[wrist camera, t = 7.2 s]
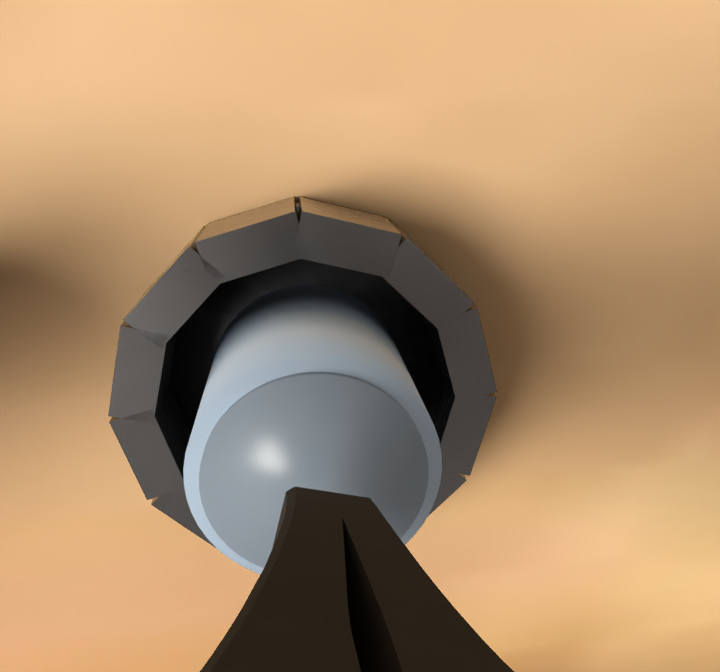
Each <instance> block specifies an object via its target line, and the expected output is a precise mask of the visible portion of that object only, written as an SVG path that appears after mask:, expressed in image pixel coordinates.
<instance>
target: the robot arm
mask: <svg viewBox="0 0 720 672" xmlns="http://www.w3.org/2000/svg"><path fill="white" fill-rule="evenodd" d="M200 672H514V671H513V670H512V669H511V668H510V667H509V666H508V665H507V664H506V663H505V662H503V661H502V660H501V659H500V658H499V656H498V655H497V654H496V653H495V652H494V651H493V650H492V649H491V648H490V647H489V646H488V645H487V644H486V643H485V642H484V641H483V640H482V639H481V637H480V636H479V635H478V634H477V633H476V632H475V631H474V630H473V628H472V627H471V626H470V625H469V624H468V623H467V622H466V621H465V619H464V618H463V617H462V616H461V615H460V614H459V613H458V611H457V610H456V609H455V608H454V607H453V606H452V605H451V603H450V602H449V601H448V600H447V599H446V597H445V596H444V595H443V594H442V592H441V591H440V590H439V589H438V588H437V586H436V585H435V584H434V583H433V581H432V580H431V579H430V578H429V576H428V575H427V574H426V572H425V571H424V570H423V569H422V567H421V566H420V565H419V563H418V562H417V561H416V559H415V558H414V557H413V555H412V554H411V553H410V551H409V550H408V549H407V547H406V546H405V545H404V543H403V542H402V541H401V539H400V538H399V537H398V535H397V534H396V532H395V531H394V530H393V528H392V527H391V526H390V524H389V523H388V521H387V520H386V519H385V517H384V516H383V514H382V513H381V512H380V510H379V509H378V508H377V506H376V505H375V504H374V502H373V501H372V500H371V498H368V497H361V496H354V495H348V494H341V493H335V492H328V491H322V490H315V489H309V488H302V487H293V488H291V489H290V490H288V491H286V493H285V498H284V502H283V506H282V510H281V514H280V518H279V523H278V527H277V531H276V535H275V539H274V543H273V548H272V551H271V553H270V556H269V558H268V560H267V563H266V565H265V567H264V569H263V571H262V573H261V575H260V577H259V578H258V580H257V582H256V584H255V586H254V588H253V589H252V591H251V593H250V595H249V597H248V599H247V600H246V602H245V604H244V606H243V608H242V609H241V611H240V613H239V614H238V616H237V618H236V619H235V621H234V622H233V624H232V626H231V627H230V629H229V630H228V632H227V633H226V635H225V637H224V638H223V640H222V641H221V643H220V644H219V645H218V647H217V648H216V650H215V651H214V653H213V654H212V656H211V657H210V659H209V660H208V661H207V663H206V664H205V666H204V667H203V668H202V670H201V671H200Z"/></svg>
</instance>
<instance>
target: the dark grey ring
mask: <svg viewBox="0 0 720 672" xmlns="http://www.w3.org/2000/svg"><path fill="white" fill-rule="evenodd" d="M295 285H320V286H326V287H331V288H334V289H338V290H341V291H343V292H346V293H348V294H350V295H352V296H354V297H356V298H357V299H359V300H361V301H362V302H364V303H365V304H366V305H367V306H369V307H370V308H371V309H372V310H373V311H374V312H375V313H376V314H377V315H378V316H379V317H380V318H381V320H382V321H383V323H384V324H385V326H386V327H387V329H388V331H389V333H390V335H391V337H392V339H393V341H394V343H395V345H396V347H397V349H398V351H399V353H400V355H401V357H402V359H403V362H404V364H405V366H406V368H407V370H408V372H409V374H410V376H411V378H412V380H413V382H414V384H415V387H416V389H417V391H418V393H419V395H420V397H421V399H422V401H423V403H424V405H425V407H426V409H427V412H428V414H429V416H430V418H431V420H432V422H433V424H434V426H435V429H436V432H437V435H438V438H439V442H440V448H441V454H442V473H441V481H440V486H439V490H438V493H437V497H436V500H435V502H434V504H433V507H432V509H431V511H430V513H429V515H430V514H431V513H432V512H433V511H434V510H435V509H436V508H437V507H438V506H439V505H441V504H442V503H443V502H444V501H445V500H446V499H447V498H448V497H449V496H450V495H451V494H452V493H453V492H455V491H456V490H457V489H458V488H459V487H460V486H461V485H462V484H463V483H464V482H465V481H466V478H465V476H464V475H470V474H471V471H472V468H473V465H474V462H475V459H476V456H477V453H478V450H479V447H480V444H481V441H482V438H483V435H484V432H485V429H486V426H487V423H488V420H489V417H490V414H491V411H492V409H493V406H494V403H495V400H496V396H495V395H494V394H493V392H497V391H496V387H495V382H494V378H493V374H492V369H491V365H490V361H489V356H488V352H487V348H486V343H485V339H484V335H483V330H482V326H481V322H480V317H479V313H478V309H477V307H476V306H475V305H474V302H473V301H472V300H471V299H470V298H469V297H468V296H467V295H466V294H465V293H464V292H463V291H462V290H461V289H460V288H459V287H458V286H457V285H456V284H455V283H454V282H453V281H452V280H451V279H450V278H449V277H448V276H447V275H446V274H445V273H444V272H443V271H442V270H441V269H440V268H439V267H438V266H437V265H436V264H435V263H434V262H433V261H431V260H430V259H429V258H428V257H427V256H426V255H425V254H424V253H423V252H422V251H421V250H420V249H419V248H418V247H417V246H416V245H415V244H414V243H413V242H412V241H411V240H410V239H409V238H408V237H407V236H406V235H405V234H404V233H403V232H402V231H401V230H400V229H399V228H398V227H397V226H396V225H395V224H394V223H393V222H392V221H391V220H390V219H389V220H387V219H386V218H385V217H384V216H380V215H376V214H371V213H367V212H363V211H359V210H354V209H350V208H346V207H342V206H338V205H333V204H329V203H325V202H321V201H316V200H312V199H308V198H304V197H300V199H299V202H295V199H294V197H292V198H288V199H285V200H282V201H279V202H275V203H272V204H269V205H266V206H262V207H259V208H256V209H253V210H249V211H246V212H243V213H240V214H236V215H233V216H230V217H227V218H223V219H220V220H217V221H214V222H210V223H209V224H208V225H207V227H205V226H204V227H203V228H202V229H201V230H200V232H199V233H198V234H197V235H196V236H195V237H194V238H193V239H192V241H191V242H190V243H189V244H188V245H187V246H186V247H185V248H184V250H183V251H182V252H181V253H180V254H179V255H178V256H177V258H176V259H175V260H174V261H173V262H172V263H171V264H170V265H169V267H168V268H167V269H166V270H165V271H164V272H163V273H162V275H161V276H160V277H159V278H158V279H157V280H156V281H155V282H154V284H153V285H152V286H151V287H150V288H149V289H148V290H147V292H146V293H145V294H144V295H143V297H142V298H141V299H140V300H139V302H138V303H137V304H136V305H135V306H134V308H133V309H132V310H131V311H130V313H129V314H128V315H127V316H126V317H125V319H124V322H123V324H122V325H121V327H120V334H119V341H118V349H117V356H116V363H115V371H114V378H113V385H112V393H111V400H110V407H109V415H108V416H111V417H112V418H111V420H110V424H111V427H112V429H113V431H114V433H115V435H116V437H117V439H118V441H119V443H120V445H121V447H122V449H123V451H124V453H125V455H126V457H127V459H128V462H129V464H130V466H131V468H132V470H133V472H134V474H135V476H136V478H137V480H138V482H139V484H140V486H141V488H142V490H143V492H144V494H145V497H146V499H147V500H149V499H152V498H153V501H152V503H151V505H153V506H154V507H156V508H157V509H159V510H160V511H162V512H163V513H165V514H166V515H168V516H169V517H171V518H172V519H174V520H175V521H177V522H178V523H180V524H181V525H182V526H184V527H185V528H187V529H188V530H190V531H191V532H193V533H194V534H196V535H197V536H199V537H200V538H202V539H203V540H205V541H206V542H208V543H209V544H211V545H212V546H214V545H213V544H212V543H211V542H210V541H209V540H208V539H207V537H206V536H205V535H204V533H203V532H202V530H201V529H200V528H199V526H198V525H197V523H196V521H195V519H194V517H193V515H192V513H191V510H190V507H189V505H188V502H187V499H186V493H185V488H184V474H183V468H184V460H185V453H186V449H187V446H188V442H189V439H190V435H191V432H192V429H193V426H194V422H195V419H196V416H197V413H198V409H199V406H200V403H201V400H202V396H203V393H204V390H205V387H206V383H207V380H208V377H209V374H210V370H211V367H212V364H213V360H214V357H215V354H216V351H217V347H218V344H219V342H220V340H221V337H222V335H223V333H224V331H225V330H226V328H227V327H228V325H229V323H230V322H231V321H232V320H233V319H234V317H235V316H236V315H237V314H238V313H239V312H240V311H241V310H242V309H243V308H244V307H246V306H247V305H248V304H250V303H251V302H252V301H254V300H255V299H257V298H259V297H261V296H263V295H265V294H267V293H269V292H272V291H274V290H277V289H280V288H284V287H289V286H295ZM429 515H428V516H429ZM428 516H427V517H428ZM214 547H215V546H214ZM215 548H216V547H215Z"/></svg>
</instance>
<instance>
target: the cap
mask: <svg viewBox="0 0 720 672" xmlns="http://www.w3.org/2000/svg"><path fill="white" fill-rule="evenodd" d="M441 473H442V454H441V448H440V442H439V438H438V435H437V432H436V429H435V426H434V424H433V422H432V420H431V418H430V416H429V414H428V412H427V409H426V407H425V405H424V403H423V401H422V399H421V397H420V395H419V393H418V391H417V389H416V387H415V384H414V382H413V380H412V378H411V376H410V374H409V372H408V370H407V368H406V366H405V364H404V362H403V359H402V357H401V355H400V353H399V351H398V349H397V347H396V345H395V343H394V341H393V339H392V337H391V335H390V333H389V331H388V329H387V327H386V326H385V324H384V323H383V321H382V320H381V318H380V317H379V316H378V315H377V314H376V313H375V312H374V311H373V310H372V309H371V308H370V307H369V306H367V305H366V304H365V303H364V302H362V301H361V300H359V299H357V298H356V297H354V296H352V295H350V294H348V293H346V292H343V291H341V290H338V289H334V288H331V287H326V286H320V285H295V286H289V287H284V288H280V289H277V290H274V291H272V292H269V293H267V294H265V295H263V296H261V297H259V298H257V299H255V300H254V301H252V302H251V303H250V304H248V305H247V306H246V307H244V308H243V309H242V310H241V311H240V312H239V313H238V314H237V315H236V316H235V317H234V319H233V320H232V321H231V322H230V323H229V325H228V327H227V328H226V330H225V331H224V333H223V335H222V337H221V340H220V342H219V344H218V347H217V351H216V354H215V357H214V360H213V364H212V367H211V370H210V374H209V377H208V380H207V383H206V387H205V390H204V393H203V396H202V400H201V403H200V406H199V409H198V413H197V416H196V419H195V422H194V426H193V429H192V432H191V435H190V439H189V442H188V446H187V449H186V453H185V460H184V468H183V474H184V488H185V493H186V499H187V502H188V505H189V507H190V510H191V513H192V515H193V517H194V519H195V521H196V523H197V525H198V526H199V528H200V529H201V530H202V532H203V533H204V535H205V536H206V537H207V539H208V540H209V541H210V542H211V543H212V544H213V545H214V546H215V547H216V548H217V549H218V550H219V551H221V552H222V553H223V554H224V555H226V556H227V557H228V558H229V559H231V560H233V561H234V562H236V563H238V564H239V565H241V566H243V567H245V568H247V569H249V570H251V571H254V572H256V573H259V574H261V573H262V571H263V569H264V567H265V565H266V563H267V560H268V558H269V556H270V553H271V551H272V548H273V543H274V539H275V535H276V531H277V527H278V523H279V518H280V514H281V510H282V506H283V502H284V498H285V493H286V491H288V490H290V489H291V488H293V487H302V488H309V489H315V490H322V491H328V492H335V493H341V494H348V495H354V496H361V497H368V498H371V500H372V501H373V502H374V504H375V505H376V506H377V508H378V509H379V510H380V512H381V513H382V514H383V516H384V517H385V519H386V520H387V521H388V523H389V524H390V526H391V527H392V528H393V530H394V531H395V532H396V534H397V535H398V537H399V538H400V539H401V541H402V542H403V543H404V545H405V544H406V543H407V542H408V541H409V540H410V539H411V538H412V537H413V536H414V535H415V534H416V532H417V531H418V530H419V528H420V527H421V526H422V525H423V523H424V521H425V520H426V518H427V516H428V515H429V513H430V511H431V509H432V507H433V504H434V502H435V500H436V497H437V493H438V490H439V486H440V481H441Z"/></svg>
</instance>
